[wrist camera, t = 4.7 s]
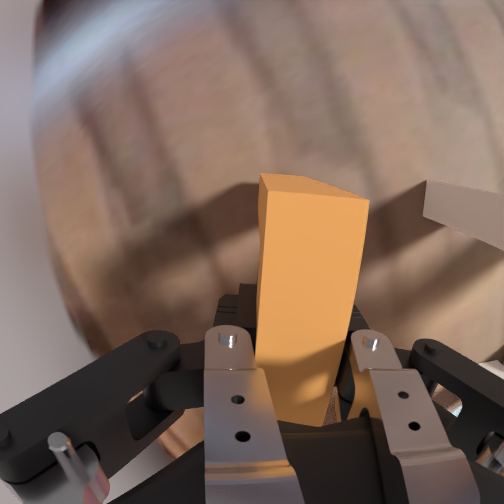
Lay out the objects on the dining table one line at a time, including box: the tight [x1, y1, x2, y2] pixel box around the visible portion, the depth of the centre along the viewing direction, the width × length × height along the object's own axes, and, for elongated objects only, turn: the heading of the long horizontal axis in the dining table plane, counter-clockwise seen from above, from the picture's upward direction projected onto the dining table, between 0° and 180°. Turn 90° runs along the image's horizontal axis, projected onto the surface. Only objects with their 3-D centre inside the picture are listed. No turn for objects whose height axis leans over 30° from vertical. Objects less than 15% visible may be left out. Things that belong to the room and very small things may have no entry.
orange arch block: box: [255, 173, 370, 427], centre depth 14 cm, size 10×2×10 cm, turn 176°
